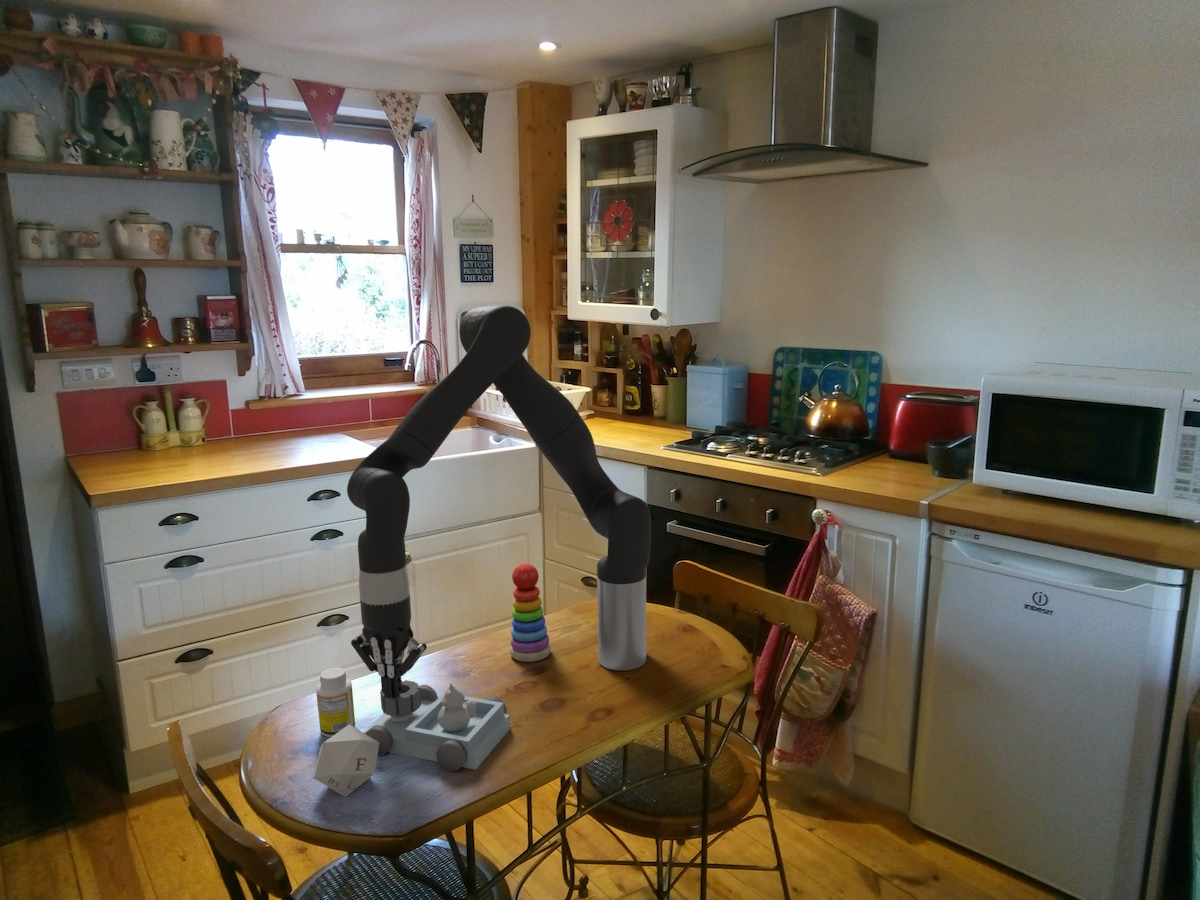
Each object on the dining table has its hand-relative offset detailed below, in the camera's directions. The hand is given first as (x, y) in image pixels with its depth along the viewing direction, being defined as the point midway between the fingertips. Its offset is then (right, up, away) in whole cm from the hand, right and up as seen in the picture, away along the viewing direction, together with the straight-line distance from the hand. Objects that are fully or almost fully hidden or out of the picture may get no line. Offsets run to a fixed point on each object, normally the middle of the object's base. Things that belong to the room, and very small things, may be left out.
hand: (392, 695), depth 131 cm
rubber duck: (+11, -5, 0) cm, 12 cm away
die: (-4, -10, -10) cm, 15 cm away
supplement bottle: (-10, -7, +4) cm, 13 cm away
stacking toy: (+20, -1, +30) cm, 36 cm away
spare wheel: (+1, -2, +3) cm, 4 cm away
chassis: (+7, -7, +1) cm, 10 cm away
